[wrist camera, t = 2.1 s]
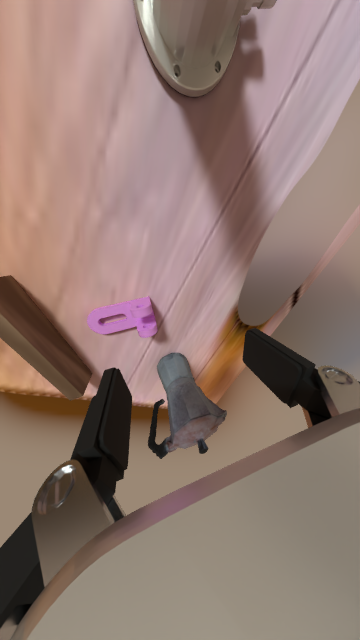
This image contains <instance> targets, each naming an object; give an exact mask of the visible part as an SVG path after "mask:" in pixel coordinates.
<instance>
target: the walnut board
mask: <svg viewBox="0 0 360 640" xmlns="http://www.w3.org/2000/svg"><path fill="white" fill-rule="evenodd" d="M0 338H1V339H2V340H3V341H5V342H6V343H7V344H8V345H9V346H10V347H11V348H12V349H13V350H15V351H16V352H17V353H18V354H19V355H20V356H21V357H22V358H24V359H25V360H26V361H27V362H28V363H29V364H30V365H31V366H32V367H34V368H35V369H36V370H37V371H38V372H39V373H40V374H41V375H42V376H44V377H45V378H46V379H47V380H48V381H49V382H50V383H51V384H52V385H54V386H55V387H56V388H57V389H58V390H59V391H60V392H61V393H63V394H64V395H65V396H66V397H67V398H68V399H69V400H73V399H76V398H79V397H81V396H83V395H84V392H85V390H86V387H87V385H88V383H89V380H90V378H91V375H92V373H91V371H90V370H89V369H88V368H87V366H86V365H85V364H84V363H83V362H82V360H81V359H80V358H79V357H78V356H77V354H76V353H75V352H74V351H73V350H72V348H71V347H70V346H69V345H68V344H67V342H66V341H65V340H64V339H63V337H62V336H61V335H60V334H59V333H58V331H57V330H56V329H55V328H54V327H53V325H52V324H51V323H50V322H49V321H48V319H47V318H46V317H45V316H44V315H43V313H42V312H41V311H40V310H39V308H38V307H37V306H36V305H35V304H34V302H33V301H32V300H31V299H30V298H29V296H28V295H27V294H26V293H25V292H24V290H23V289H22V288H21V287H20V286H19V284H18V283H17V282H16V281H15V279H14V278H13V277H12V276H11V275H10V276H4V277H0Z"/></svg>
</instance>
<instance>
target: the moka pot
mask: <svg viewBox="0 0 360 640" xmlns="http://www.w3.org/2000/svg"><path fill="white" fill-rule="evenodd" d="M157 370H158V374H159V377H160V379H161V382H162V384H163V387H164V389H165V391H166V393H167V400H168V412H169V422H170V431H171V436H170V437H167V438H166V439H165V440H164V441H163V442H162V443H161V444H160V445H157V444H156V443H155V437H156V427H157V414H158V408H159V406H160V405H162V404H164V402H165V401H164V400H163V399H161V400H160V401H158V402H156V403H155V404H154V410H153V416H152V424H151V427H150V436H149V440H148V446H149V448H150V449H151V450H152V451H153V453H156V455H157V456H158V457H159V458H160V459H162V458H163V457H164V456H165V455H166V454H167V453H168V452H172V451H174V450H176V449H177V448H178V447H180V448H184V449H185V448H188V447H191V446H194V445H196V444H198V448H199V453H201V454H203V453H206V452H207V450H208V447H207V445H206V443H205V442H204V441H205V440H206V439H207V438H208V437H210V436H211V435H212V434H213V433H215V432H216V431H217V428H218V426H219V425H220V424H221V423H222V422H223V421H224V420H225V417H226V415H227V412H226V410H225V411H224V410H222V409H220V408H219V407H218V406H217V405H216V404H214V403H213V402H212V401H211V400H209V399H208V398H207V397H206V396H205V395H204V393H203V392H202V390H201V389H200V387H198V386H197V385H196V383H195V381H194V378H193V376H192V373H191V370H190V367H189V364H188V361H187V359H186V357H185V356H184V355H182V354H180V353H172V354H169V355H167V356H165V357H163V358H162V359H161V360H160V362H159V363H158V365H157Z"/></svg>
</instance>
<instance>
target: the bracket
mask: <svg viewBox="0 0 360 640" xmlns="http://www.w3.org/2000/svg"><path fill="white" fill-rule="evenodd" d="M117 314H125V315H126V317H127V318H126V319H123V320H119V321H115V322H111V323H107V324H104V323H101V322H100V319H101V318H105V317H109V316H113V315H117ZM87 323H88V326H89V327H90V328H91V329H92V330H93V331H94V332H96V333H99V334H109V333H113V332H117V331H121V330H125V329H129V328H132V327H136V326H137V331H138V333H139V336H140V337H143V338H146V337H150V336H153V335H154V334H156V333H157V331H158V329H157V324H156V320H155V316H154V312H153V309H152V305H151V301H150V298H149V296H148V297H144V298H140V299H135V300H131V301H126V302H122V303H118V304H113V305H109V306H104V307H100V308H97V309H94V310H93V311H92V312H91V313H90V314H89V316H88V318H87Z"/></svg>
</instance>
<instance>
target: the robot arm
mask: <svg viewBox="0 0 360 640" xmlns="http://www.w3.org/2000/svg"><path fill="white" fill-rule="evenodd" d="M276 1H277V0H133V3H134V9H135V14H136V17H137V21H138V25H139V28H140V32H141V35H142V38H143V40H144V43H145V46H146V48H147V51H148V53H149V55H150V57H151V59H152V61H153V63H154V65H155V66H156V68H157V69H158V71H159V72H160V74H161V75H162V77H163V78H164V79H165V80H166V81H167V82H168V83H169V85H170V86H171V87H172V88H174V89H175V90H177V91H178V92H179V93H181V94H184V95H187V96H191V97H198V96H202V95H205V94H207V93H208V92H210V91H211V90H212V89H213V88H214V87H215V86H216V85H217V84H218V83H219V81H220V80H221V78H222V76H223V74H224V73H225V71H226V69H227V66H228V64H229V62H230V60H231V57H232V54H233V51H234V48H235V45H236V41H237V36H238V31H239V25H240V18H241V16H243V15H248V13H249V12H250V10H251V7H257V8H258V9H269V8H272V7H273V6H274V5H275V3H276ZM243 362H244V363H245V364H246V365H247V366H248V367H249V368H250V369H251V371H253V372H254V374H255V375H256V376H258V377H259V379H260V380H261V381H262V382H263V383H264V384H265V385H266V386H267V387H268V388H269V389H270V390H271V391H272V392H273V393H274V394H275V395H276V396H277V397H278V398H279V399H280V400H281V401H282V402H283V403H286V404H287V405H288V406H289V407H290V408H291V407H294V406H296V405H298V404H300V405H301V406H302V409H303V412H304V415H305V419H306V422H307V425H308V429H306V430H304V431H301V432H299V433H297V434H295V435H293V436H291V437H288V438H286V439H284V440H282V441H280V442H278V443H276V444H273V445H271V446H269V447H267V448H265V449H263V450H261V451H259V452H256V453H254V454H252V455H250V456H248V457H246V458H243V459H241V460H239V461H237V462H235V463H233V464H231V465H228V466H227V467H224V468H222V469H220V470H218V471H216V472H214V473H212V474H210V475H207V476H206V477H203V478H201V479H199V480H197V481H195V482H193V483H191V484H189V485H186V486H184V487H182V488H180V489H178V490H176V491H174V492H172V493H170V494H168V495H166V496H164V497H162V498H160V499H158V500H156V501H154V502H152V503H150V504H148V505H146V506H144V507H142V508H140V509H138V510H136V511H134V512H132V513H130V514H129V515H127V516H126V514H125V513H124V511H123V510H122V508H121V506H120V504H119V503H118V501H117V499H116V497H115V496H114V493H115V488H116V481H119V480H121V479H123V477H124V470H126V469H127V466H128V454H129V439H130V423H131V408H132V396H131V393H130V391H129V389H128V387H127V385H126V383H125V380H124V378H123V376H122V374H121V372H120V370H119V369H116V368H111V369H107V370H105V371H104V373H103V376H102V379H101V382H100V385H99V388H98V391H97V394H96V396H94V397H93V398H92V400H91V403H90V405H89V408H88V411H87V414H86V417H85V420H84V423H83V425H82V428H81V431H80V434H79V437H78V440H77V443H76V445H75V448H74V451H73V454H72V457H71V460H69V461H66V462H64V463H63V464H61V465H60V466H58V467H57V468H56V469H55V470H54V471H53V472H52V473H51V474H50V475H49V476H48V477H47V479H46V480H45V481H44V483H43V484H42V486H41V487H40V489H39V491H38V493H37V495H36V497H35V499H34V503H33V506H32V512H31V513H30V514H29V515H28V517H27V518H26V519H25V520H24V521H23V522H22V524H21V525H20V526H19V527H18V528H17V529H16V530H15V532H14V533H13V534H12V535H11V536H10V537H9V538H8V540H7V541H6V542H5V543H4V544H3V545H2V547H1V548H0V640H360V382H359V381H357V380H356V379H355V378H354V377H353V376H352V375H351V374H349V373H348V372H345V371H344V370H342V369H339V368H337V367H333V366H326V365H325V366H320V367H318V370H317V369H315V368H314V367H315V364H314V363H312V362H310V361H309V360H307V359H306V358H304V357H302V356H301V355H299V354H297V353H296V352H294V351H293V350H291V349H289V348H287V347H286V346H284V345H283V344H281V343H279V342H278V341H276V340H274V339H273V338H271V337H270V336H268V335H266V334H265V333H263V332H261V331H260V330H258V329H256V328H254V329H250V330H248V331H247V333H246V334H245V342H244V351H243Z"/></svg>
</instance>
